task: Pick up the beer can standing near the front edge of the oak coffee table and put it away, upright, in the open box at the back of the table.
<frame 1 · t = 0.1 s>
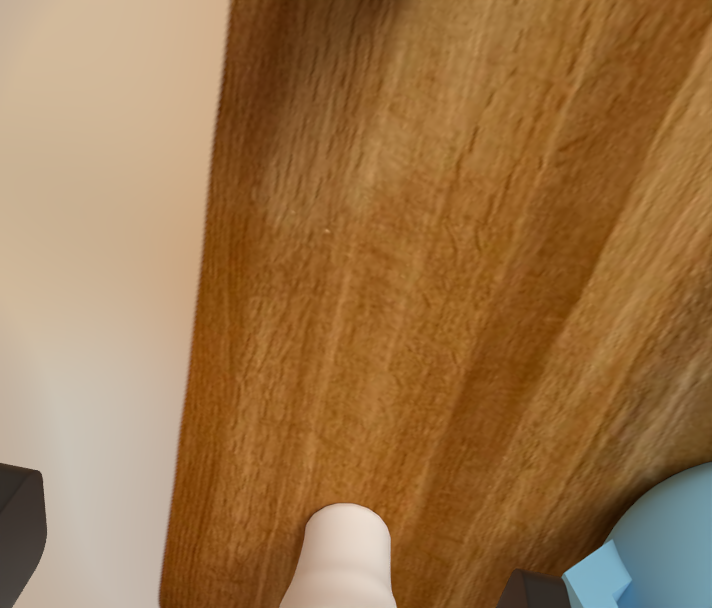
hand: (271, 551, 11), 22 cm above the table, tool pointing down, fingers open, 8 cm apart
cup: (353, 526, 42), on the table
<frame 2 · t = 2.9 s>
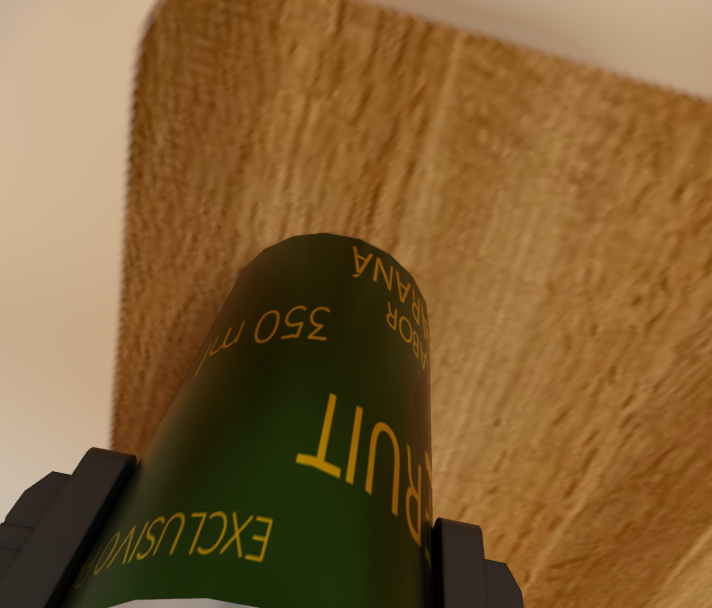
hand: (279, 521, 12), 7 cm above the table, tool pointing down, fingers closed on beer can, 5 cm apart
beer can: (332, 308, 18), on the table, touching gripper
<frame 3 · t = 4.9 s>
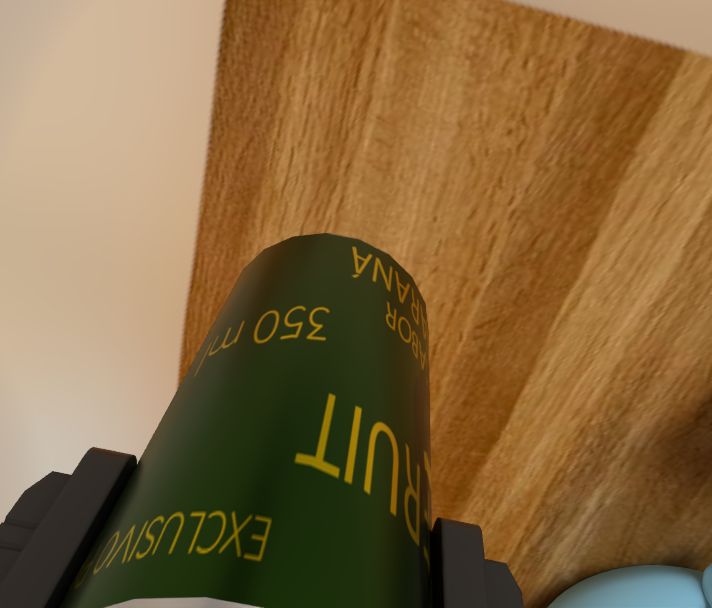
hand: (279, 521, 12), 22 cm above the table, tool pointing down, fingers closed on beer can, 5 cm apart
beer can: (332, 308, 18), point 14 cm above the table, touching gripper
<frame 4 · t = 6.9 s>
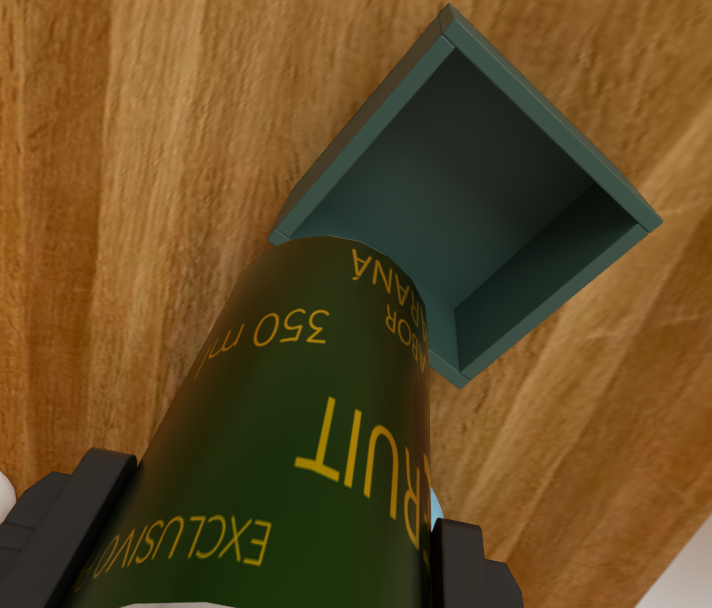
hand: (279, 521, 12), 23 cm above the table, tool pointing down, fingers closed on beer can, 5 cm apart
beer can: (331, 310, 18), point 16 cm above the table, touching gripper
open box: (451, 180, 32), on the table
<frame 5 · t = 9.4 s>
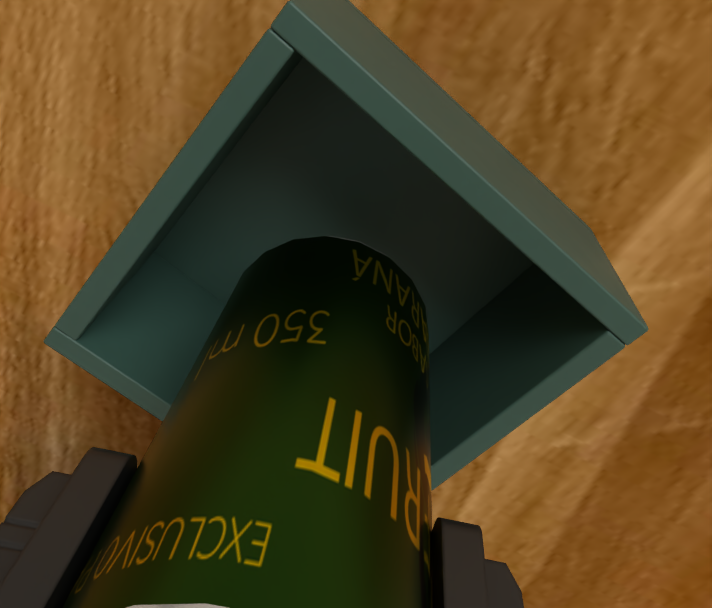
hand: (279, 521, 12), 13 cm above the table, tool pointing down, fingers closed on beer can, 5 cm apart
beer can: (332, 310, 18), point 5 cm above the table, touching gripper
open box: (352, 238, 23), on the table
when the fingers open (8 cm above the table, at t = 11.2 s): beer can stays where it is, resting on open box.
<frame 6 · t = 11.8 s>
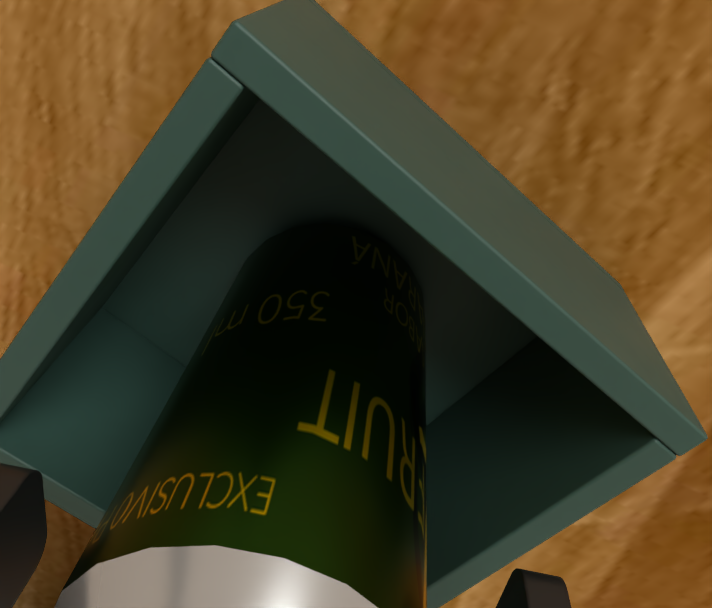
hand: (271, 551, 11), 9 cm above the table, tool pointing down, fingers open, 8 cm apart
beer can: (332, 297, 19), resting on open box
open box: (336, 292, 19), on the table
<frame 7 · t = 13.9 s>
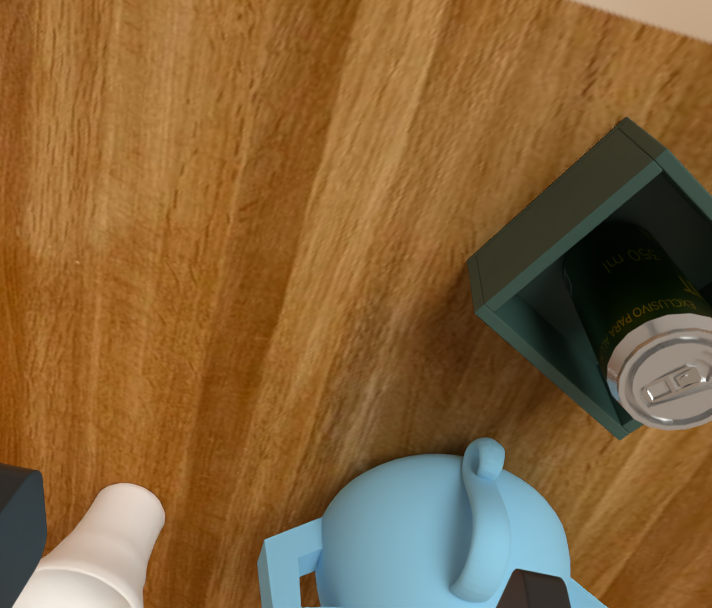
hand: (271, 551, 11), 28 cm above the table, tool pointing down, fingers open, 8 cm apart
teapot: (436, 531, 49), on the table
cup: (136, 503, 51), on the table
beer can: (607, 259, 37), resting on open box
open box: (607, 258, 37), on the table
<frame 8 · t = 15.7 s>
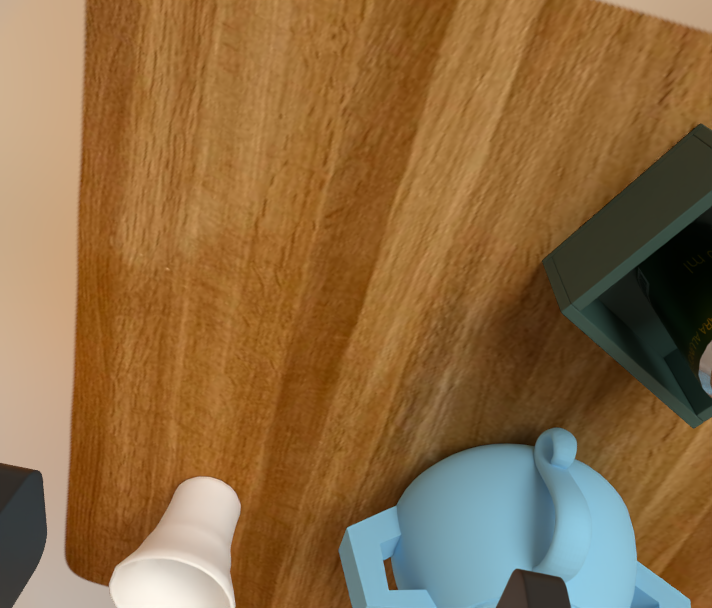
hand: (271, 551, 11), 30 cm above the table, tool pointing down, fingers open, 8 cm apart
teapot: (501, 517, 52), on the table
cup: (213, 495, 53), on the table
beer can: (677, 258, 39), resting on open box
open box: (677, 256, 39), on the table
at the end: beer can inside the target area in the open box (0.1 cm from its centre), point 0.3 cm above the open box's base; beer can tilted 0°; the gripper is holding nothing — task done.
